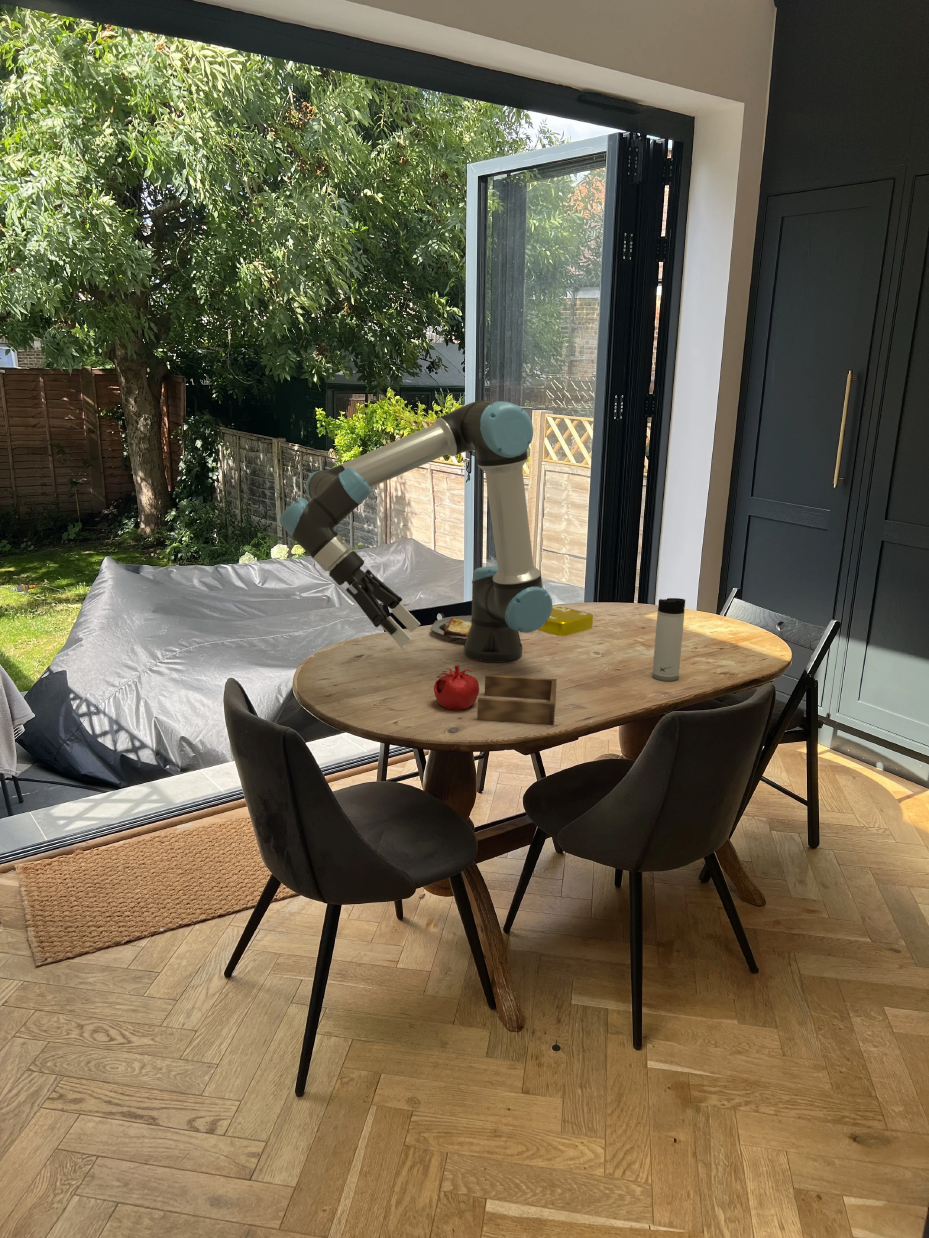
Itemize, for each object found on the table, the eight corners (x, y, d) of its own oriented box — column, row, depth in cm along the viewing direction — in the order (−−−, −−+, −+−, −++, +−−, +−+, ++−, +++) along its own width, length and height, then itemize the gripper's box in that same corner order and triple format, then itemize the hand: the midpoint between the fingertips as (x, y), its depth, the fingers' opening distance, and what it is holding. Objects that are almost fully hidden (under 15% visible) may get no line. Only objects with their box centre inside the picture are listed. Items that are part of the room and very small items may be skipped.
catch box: (477, 719, 186) (477, 699, 185) (484, 693, 201) (485, 674, 200) (553, 724, 184) (554, 704, 183) (555, 698, 199) (556, 679, 198)
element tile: (522, 627, 257) (523, 611, 256) (555, 618, 268) (556, 603, 266) (562, 638, 247) (563, 621, 246) (595, 628, 258) (596, 612, 256)
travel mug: (664, 683, 211) (671, 601, 206) (646, 675, 216) (653, 595, 211) (684, 679, 214) (692, 599, 208) (666, 671, 219) (673, 593, 214)
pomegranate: (482, 700, 198) (484, 660, 195) (472, 715, 188) (475, 673, 186) (439, 694, 200) (441, 655, 197) (427, 709, 190) (429, 668, 188)
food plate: (509, 648, 235) (509, 635, 234) (423, 643, 239) (423, 630, 238) (520, 626, 259) (520, 614, 258) (442, 621, 263) (442, 610, 262)
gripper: (337, 560, 177) (414, 639, 179) (364, 540, 199) (432, 610, 201) (312, 584, 179) (388, 662, 181) (341, 562, 201) (409, 631, 203)
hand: (411, 635), depth 191 cm, fingers open, 11 cm apart
